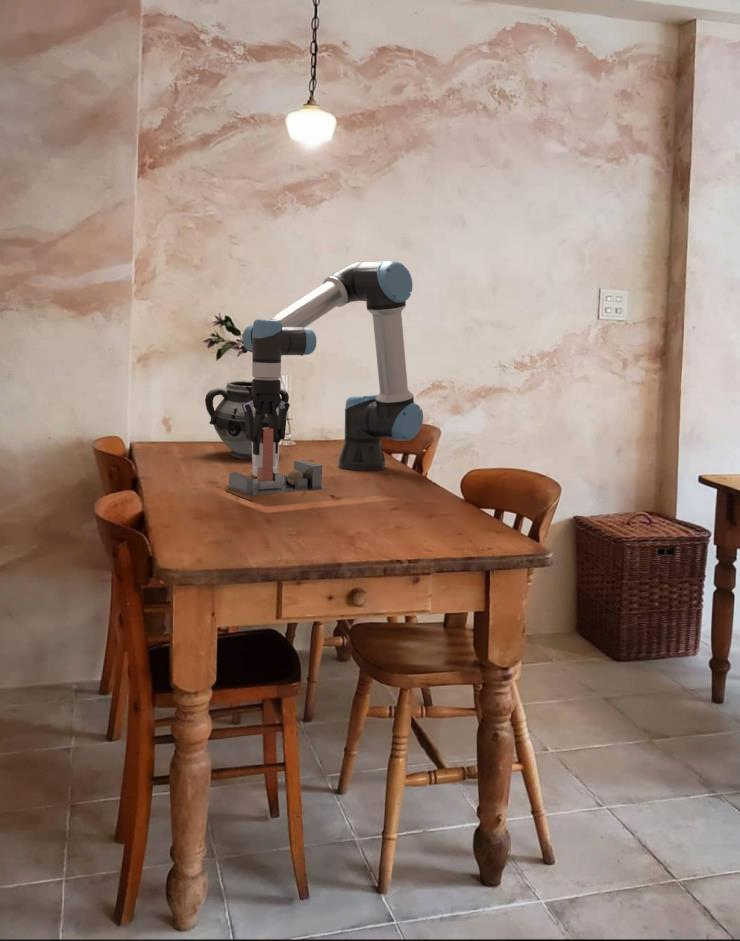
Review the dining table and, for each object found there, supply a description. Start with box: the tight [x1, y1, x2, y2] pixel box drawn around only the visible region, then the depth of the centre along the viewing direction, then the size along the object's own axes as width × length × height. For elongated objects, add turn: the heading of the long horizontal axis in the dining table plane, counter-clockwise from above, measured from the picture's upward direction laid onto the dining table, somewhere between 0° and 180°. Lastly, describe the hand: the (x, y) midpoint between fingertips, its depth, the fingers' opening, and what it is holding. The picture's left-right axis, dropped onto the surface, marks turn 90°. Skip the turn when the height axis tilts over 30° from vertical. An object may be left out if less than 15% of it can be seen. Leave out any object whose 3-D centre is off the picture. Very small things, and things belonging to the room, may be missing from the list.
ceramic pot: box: [204, 380, 290, 460], centre depth 308 cm, size 29×23×25 cm
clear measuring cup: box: [251, 442, 280, 477], centre depth 268 cm, size 10×8×12 cm
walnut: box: [286, 469, 303, 486], centre depth 254 cm, size 4×4×4 cm
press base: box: [225, 459, 328, 502], centre depth 251 cm, size 24×14×8 cm, turn 125°
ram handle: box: [253, 427, 284, 489], centre depth 248 cm, size 7×4×16 cm, turn 125°
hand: (265, 466), depth 248 cm, fingers closed on ram handle, 3 cm apart
